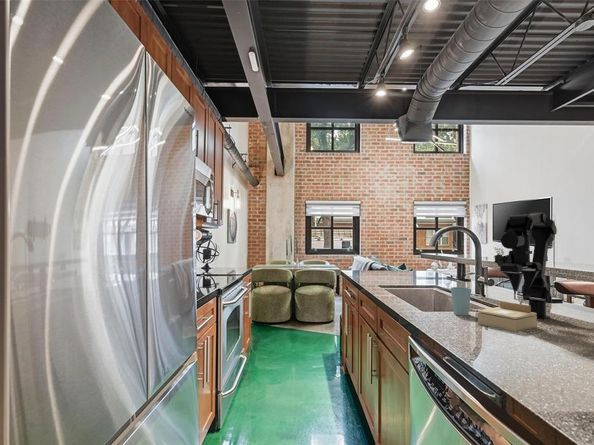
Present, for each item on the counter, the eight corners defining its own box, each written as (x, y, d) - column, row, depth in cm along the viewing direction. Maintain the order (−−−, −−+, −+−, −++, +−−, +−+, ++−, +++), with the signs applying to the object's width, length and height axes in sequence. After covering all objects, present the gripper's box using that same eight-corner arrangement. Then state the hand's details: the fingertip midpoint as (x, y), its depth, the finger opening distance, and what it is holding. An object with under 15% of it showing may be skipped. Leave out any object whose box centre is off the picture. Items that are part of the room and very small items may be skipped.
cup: (458, 311, 150) (458, 286, 150) (475, 315, 143) (475, 289, 143) (446, 313, 146) (446, 287, 146) (463, 316, 139) (463, 290, 140)
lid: (499, 308, 135) (499, 300, 135) (536, 314, 124) (536, 306, 124) (477, 312, 128) (477, 303, 128) (515, 319, 117) (515, 310, 117)
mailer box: (499, 319, 135) (499, 309, 135) (536, 327, 124) (536, 315, 124) (477, 324, 127) (477, 312, 128) (515, 332, 116) (515, 320, 117)
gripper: (511, 247, 144) (512, 285, 144) (485, 248, 134) (486, 289, 134) (541, 247, 135) (542, 289, 134) (516, 249, 125) (517, 293, 124)
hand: (521, 290), depth 132 cm, fingers open, 8 cm apart
